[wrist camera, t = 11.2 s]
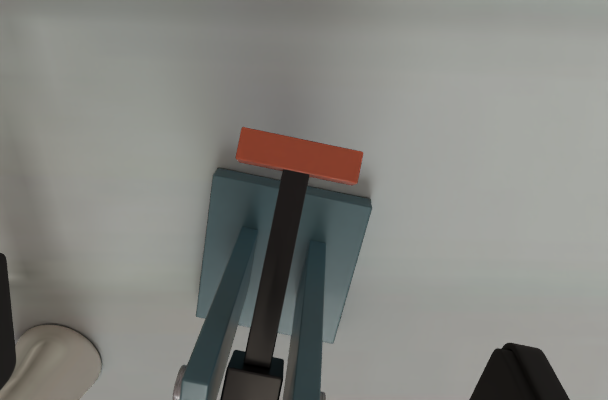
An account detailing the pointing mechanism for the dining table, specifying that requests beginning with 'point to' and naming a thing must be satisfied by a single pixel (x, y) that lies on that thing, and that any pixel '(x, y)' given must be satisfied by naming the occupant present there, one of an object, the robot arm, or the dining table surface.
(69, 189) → the dining table surface
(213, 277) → the bracket
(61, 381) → the metal tumbler
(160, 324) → the dining table surface
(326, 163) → the lever
